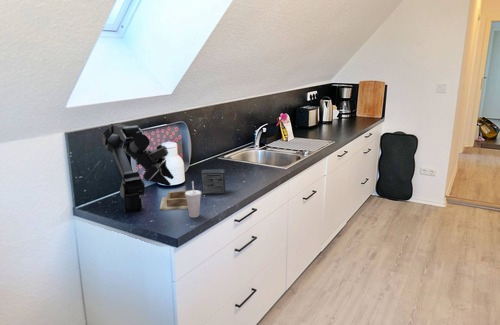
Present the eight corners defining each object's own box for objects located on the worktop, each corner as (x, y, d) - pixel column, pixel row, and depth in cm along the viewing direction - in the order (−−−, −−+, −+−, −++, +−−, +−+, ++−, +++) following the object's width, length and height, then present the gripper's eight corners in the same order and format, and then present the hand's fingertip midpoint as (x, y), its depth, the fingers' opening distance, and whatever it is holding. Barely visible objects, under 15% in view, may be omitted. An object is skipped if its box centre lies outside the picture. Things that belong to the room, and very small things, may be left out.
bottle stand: (159, 210, 167) (159, 201, 166) (162, 198, 181) (161, 190, 180) (199, 208, 169) (198, 199, 168) (198, 196, 183) (198, 188, 182)
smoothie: (203, 212, 164) (202, 179, 161) (201, 218, 158) (199, 184, 155) (187, 212, 165) (185, 179, 161) (184, 218, 158) (182, 184, 155)
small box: (225, 190, 192) (224, 168, 189) (225, 194, 185) (224, 172, 183) (203, 190, 191) (202, 169, 189) (201, 195, 185) (200, 173, 182)
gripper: (149, 144, 146) (182, 173, 149) (158, 135, 164) (187, 161, 167) (129, 166, 147) (162, 194, 151) (140, 155, 165) (169, 180, 169)
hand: (171, 181), depth 159 cm, fingers open, 9 cm apart
